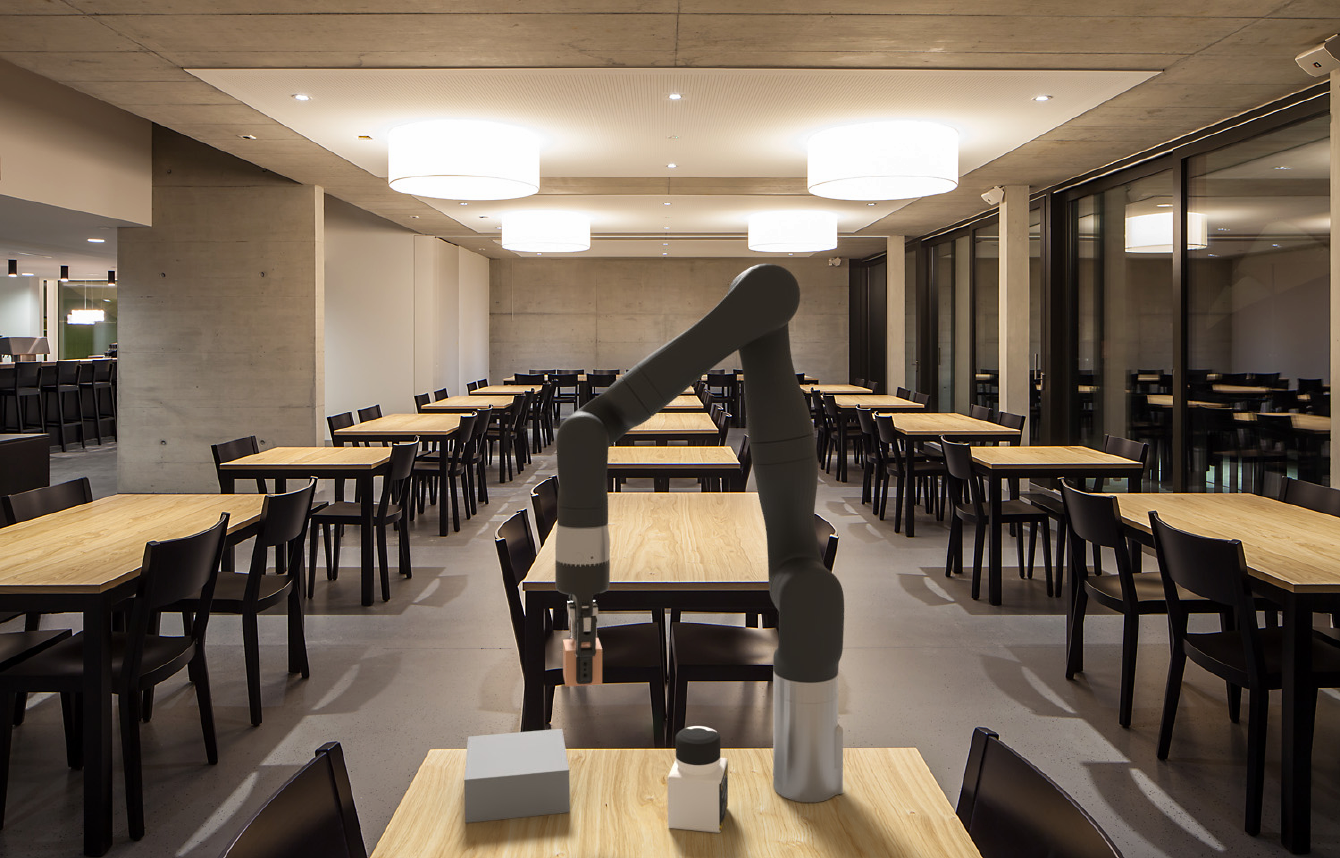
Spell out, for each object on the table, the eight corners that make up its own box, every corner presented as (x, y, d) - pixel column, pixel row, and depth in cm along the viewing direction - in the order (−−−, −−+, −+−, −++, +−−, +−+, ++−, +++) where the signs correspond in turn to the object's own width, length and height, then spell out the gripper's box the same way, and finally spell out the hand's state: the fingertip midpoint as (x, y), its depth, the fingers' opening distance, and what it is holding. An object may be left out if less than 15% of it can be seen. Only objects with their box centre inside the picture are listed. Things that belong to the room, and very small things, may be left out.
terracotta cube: (598, 672, 125) (598, 637, 125) (602, 684, 120) (602, 648, 120) (563, 674, 124) (563, 639, 124) (565, 686, 120) (565, 650, 119)
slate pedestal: (562, 766, 134) (562, 728, 133) (569, 812, 120) (569, 770, 120) (469, 775, 131) (468, 736, 131) (465, 823, 117) (464, 779, 117)
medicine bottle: (720, 834, 114) (720, 745, 113) (667, 829, 116) (666, 740, 115) (728, 807, 121) (727, 723, 120) (677, 802, 123) (677, 719, 122)
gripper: (616, 566, 115) (615, 693, 116) (603, 545, 129) (602, 658, 130) (559, 568, 114) (558, 696, 115) (552, 546, 128) (552, 660, 129)
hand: (582, 675), depth 122 cm, fingers closed on terracotta cube, 5 cm apart
